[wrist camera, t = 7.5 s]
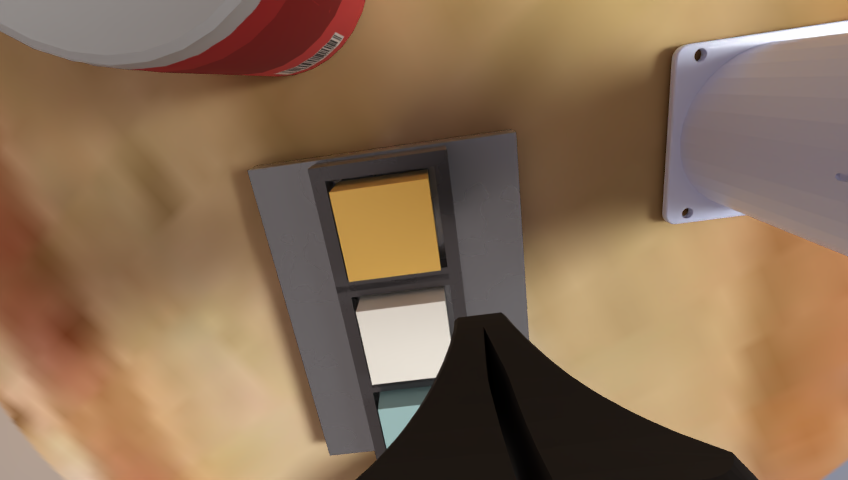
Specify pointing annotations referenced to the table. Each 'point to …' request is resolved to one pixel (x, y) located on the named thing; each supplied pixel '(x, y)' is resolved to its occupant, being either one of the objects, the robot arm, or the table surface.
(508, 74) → the table surface
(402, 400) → the teal button
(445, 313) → the cream button
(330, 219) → the button panel
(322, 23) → the canned food
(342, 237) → the amber button
